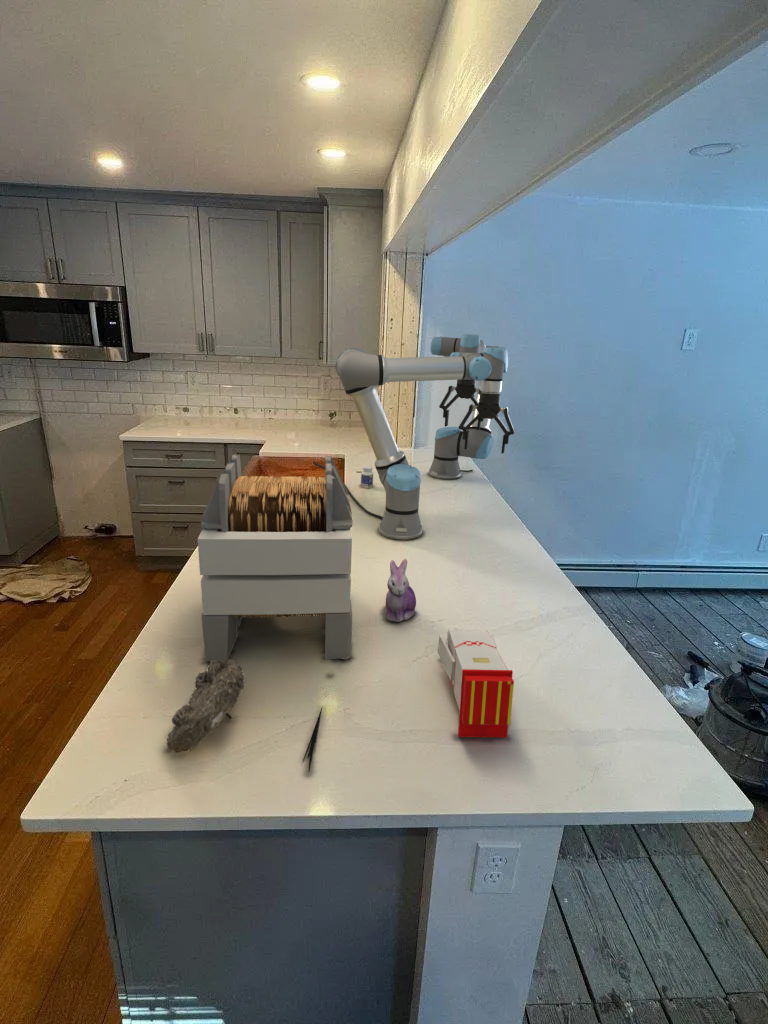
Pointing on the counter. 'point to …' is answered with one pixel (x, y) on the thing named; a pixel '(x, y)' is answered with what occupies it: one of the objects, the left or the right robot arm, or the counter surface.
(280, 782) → the counter surface
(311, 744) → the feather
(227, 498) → the record crate
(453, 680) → the toy
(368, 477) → the pill bottle
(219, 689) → the fossil
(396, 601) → the figurine
